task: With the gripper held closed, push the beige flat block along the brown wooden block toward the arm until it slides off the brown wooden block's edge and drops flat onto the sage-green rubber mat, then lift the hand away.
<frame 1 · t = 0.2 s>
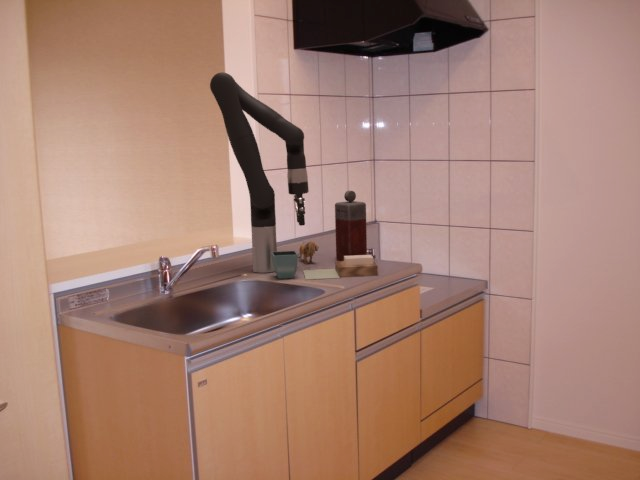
hand: (301, 223, 271), 17 cm above the worktop, tool pointing down, fingers open, 8 cm apart
red drink dispenser: (349, 260, 290), on the worktop
lion figurine: (307, 262, 288), on the worktop
beige flat block: (358, 263, 263), point 3 cm above the worktop, touching brown wooden block
flower pot: (285, 278, 260), on the worktop
mat: (320, 274, 263), on the worktop
brown wooden block: (356, 272, 264), on the worktop
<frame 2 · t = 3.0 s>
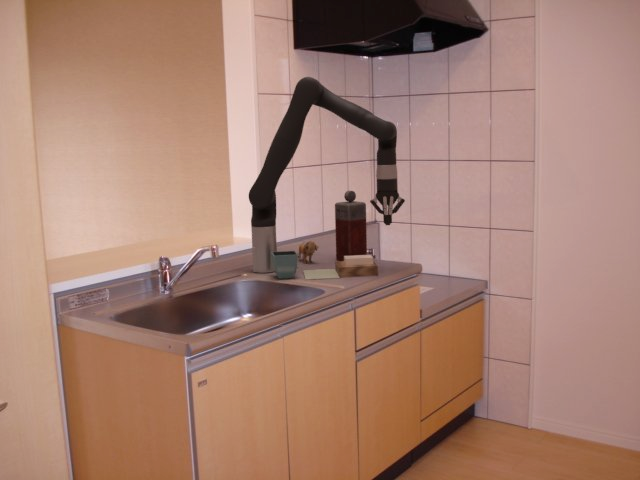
hand: (387, 224, 262), 17 cm above the worktop, tool pointing down, fingers closed
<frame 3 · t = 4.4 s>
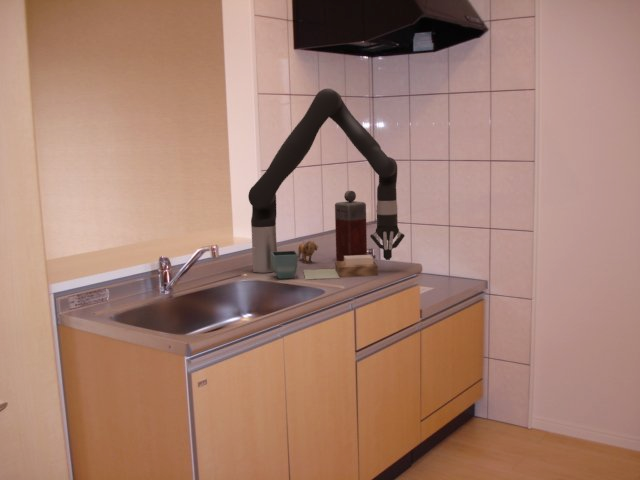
hand: (387, 259, 264), 4 cm above the worktop, tool pointing down, fingers closed
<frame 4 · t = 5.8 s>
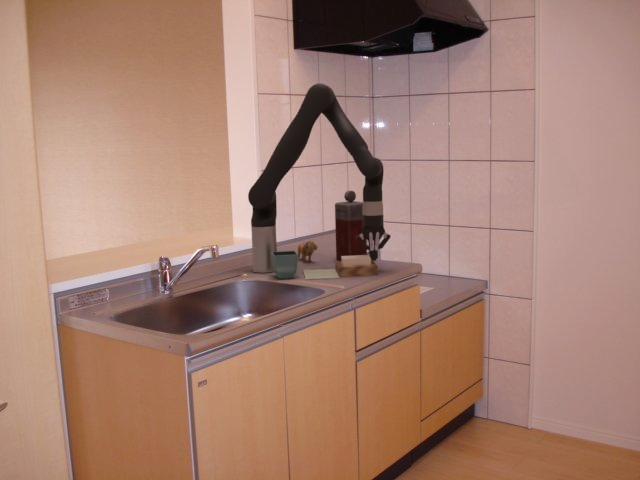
hand: (373, 260, 264), 4 cm above the worktop, tool pointing down, fingers closed
beige flat block: (355, 263, 263), point 4 cm above the worktop, touching gripper
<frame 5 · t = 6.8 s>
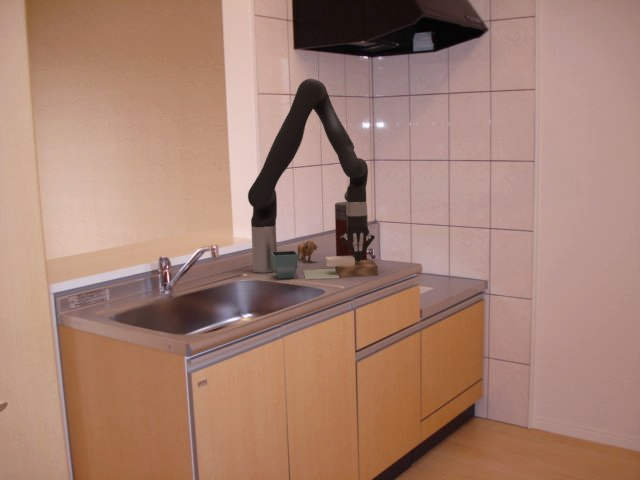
hand: (358, 260, 263), 4 cm above the worktop, tool pointing down, fingers closed
beige flat block: (340, 264, 263), point 4 cm above the worktop, touching brown wooden block, gripper
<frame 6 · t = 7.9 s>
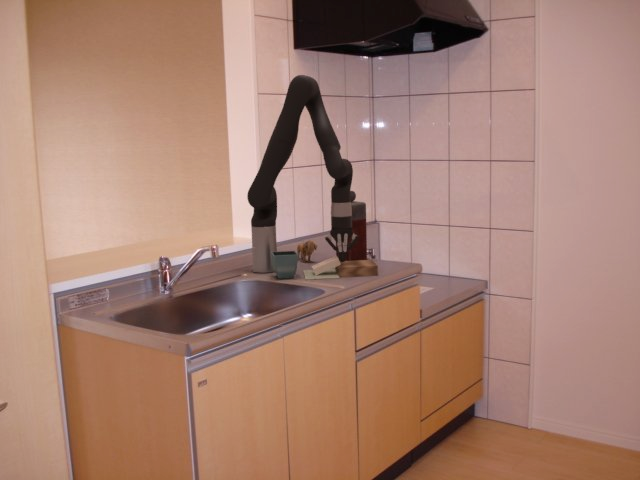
hand: (342, 261, 263), 4 cm above the worktop, tool pointing down, fingers closed
beige flat block: (327, 268, 263), point 2 cm above the worktop, tilted 21°, touching brown wooden block
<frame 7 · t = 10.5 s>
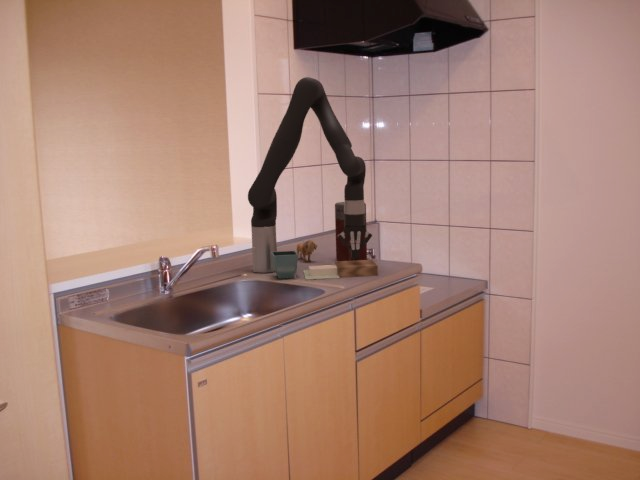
hand: (355, 259, 263), 5 cm above the worktop, tool pointing down, fingers closed
beige flat block: (323, 273, 263), resting on mat
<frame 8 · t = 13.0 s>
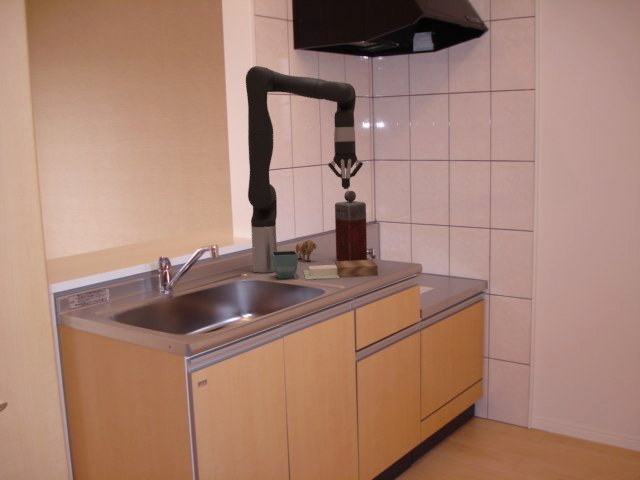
hand: (345, 188, 259), 31 cm above the worktop, tool pointing down, fingers closed
at the end: beige flat block inside the target area on the mat (0.9 cm from its centre), point 0.3 cm above the mat's base; beige flat block resting on mat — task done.
